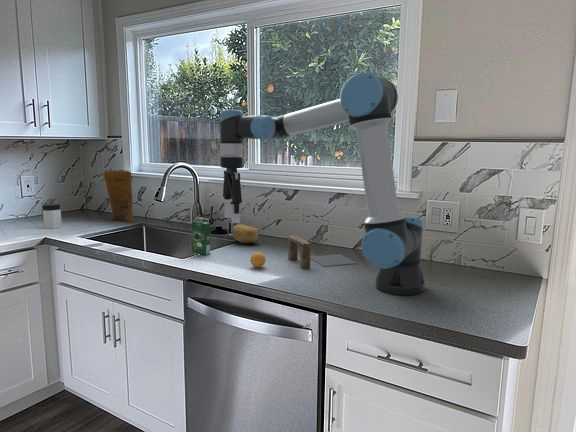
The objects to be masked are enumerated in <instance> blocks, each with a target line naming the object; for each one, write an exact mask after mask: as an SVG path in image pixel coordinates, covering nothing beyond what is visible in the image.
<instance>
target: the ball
mask: <svg viewBox="0 0 576 432" xmlns="http://www.w3.org/2000/svg"><path fill="white" fill-rule="evenodd" d="M266 259H267V258H266V256H265V254H263V253H262V252H259V251H258V252H254V253H252V255H251V256H250V265H252V266H253V267H254V268H261V267H263V266H264V265H265V264H266Z"/></svg>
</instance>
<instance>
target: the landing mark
mask: <svg viewBox="0 0 576 432" xmlns="http://www.w3.org/2000/svg"><path fill="white" fill-rule="evenodd" d="M310 260H312V261H314V263H317V264H319V265H320V266H322V267H325V268H326V267H335V266H345V265H346V266H347V265H355V264H356V265H357V264H358V262H356V261H354V260H352V259H351V258H348V257H346V256H344V255H342V254H341V253H338V254H328V255H326V254H324V255H317V256H310Z"/></svg>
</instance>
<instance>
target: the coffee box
mask: <svg viewBox="0 0 576 432" xmlns="http://www.w3.org/2000/svg"><path fill="white" fill-rule="evenodd" d="M191 247H192V248H191V250H192V251H191V252H192V253H194V254H199V255H203V256H209V255H211V222H206V221H200V220H192V221H191Z"/></svg>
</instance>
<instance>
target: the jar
mask: <svg viewBox="0 0 576 432" xmlns="http://www.w3.org/2000/svg"><path fill="white" fill-rule="evenodd" d="M41 210H42V211H41V212H42V222H43V229H44V230H55V229H60V228H62V227H63V225H62V212H61V211H62V210H61V204H60V203H57V202H56V203H54V202H53V203H51V202H50V203H43V204H42V205H41Z"/></svg>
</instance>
